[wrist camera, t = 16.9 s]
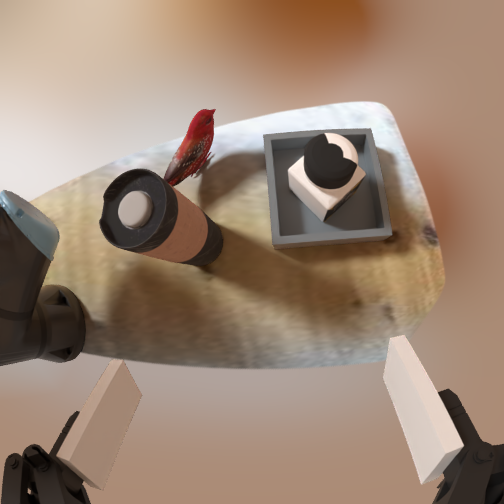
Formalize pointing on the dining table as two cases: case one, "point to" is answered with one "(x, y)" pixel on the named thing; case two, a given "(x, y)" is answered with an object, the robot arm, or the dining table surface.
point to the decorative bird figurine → (192, 148)
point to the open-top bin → (346, 217)
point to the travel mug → (157, 220)
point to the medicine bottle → (326, 174)
